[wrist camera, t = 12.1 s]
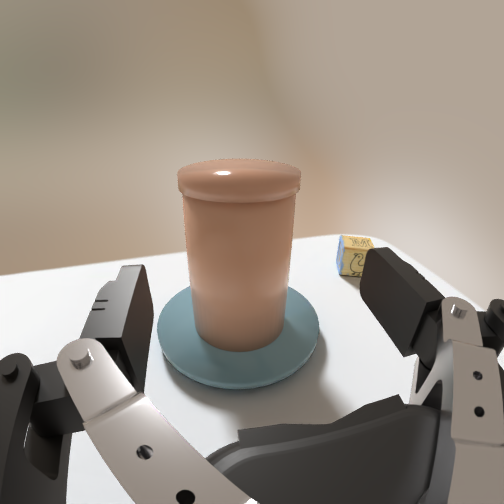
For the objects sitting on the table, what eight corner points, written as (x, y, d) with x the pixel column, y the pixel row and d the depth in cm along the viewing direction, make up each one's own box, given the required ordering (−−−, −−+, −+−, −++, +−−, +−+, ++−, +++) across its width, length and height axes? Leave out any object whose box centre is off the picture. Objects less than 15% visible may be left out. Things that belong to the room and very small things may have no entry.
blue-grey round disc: (154, 399, 15) (149, 387, 14) (166, 291, 25) (164, 279, 24) (338, 380, 16) (343, 367, 16) (293, 282, 26) (294, 271, 26)
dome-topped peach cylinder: (191, 357, 17) (171, 188, 12) (192, 295, 22) (181, 160, 18) (297, 348, 18) (319, 184, 13) (275, 289, 23) (283, 158, 18)
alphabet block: (335, 260, 30) (339, 233, 28) (364, 262, 29) (370, 236, 28) (338, 276, 27) (343, 247, 26) (370, 278, 27) (376, 250, 25)
